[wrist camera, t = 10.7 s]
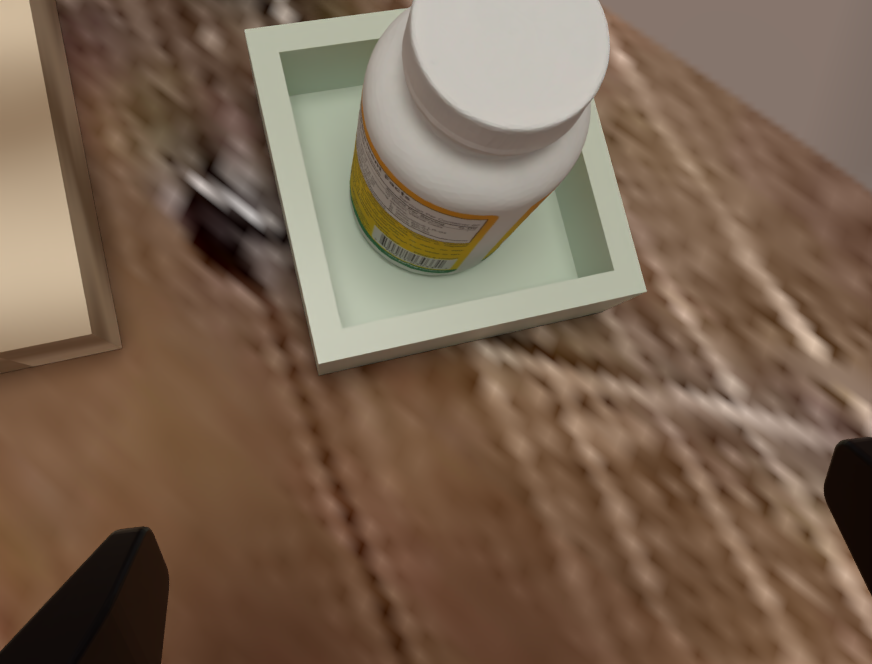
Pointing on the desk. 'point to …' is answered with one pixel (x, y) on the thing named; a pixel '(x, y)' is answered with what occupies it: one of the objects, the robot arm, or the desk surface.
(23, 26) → the socket block
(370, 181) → the supplement bottle
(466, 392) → the desk surface
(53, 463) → the desk surface
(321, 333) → the tray
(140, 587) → the robot arm
